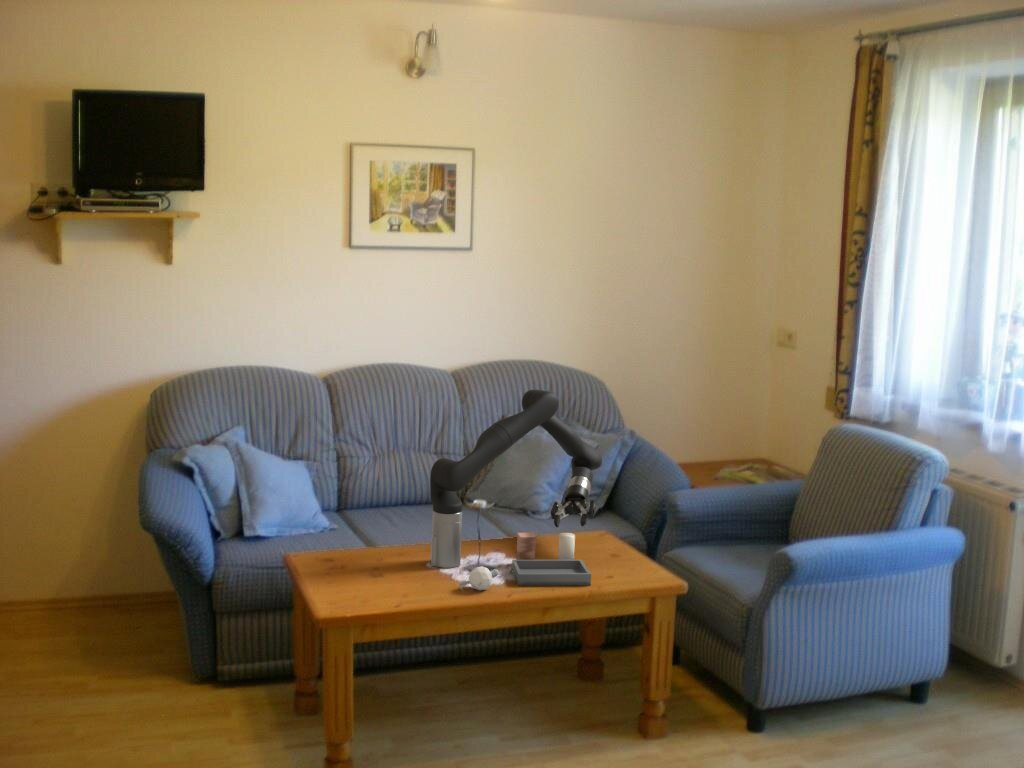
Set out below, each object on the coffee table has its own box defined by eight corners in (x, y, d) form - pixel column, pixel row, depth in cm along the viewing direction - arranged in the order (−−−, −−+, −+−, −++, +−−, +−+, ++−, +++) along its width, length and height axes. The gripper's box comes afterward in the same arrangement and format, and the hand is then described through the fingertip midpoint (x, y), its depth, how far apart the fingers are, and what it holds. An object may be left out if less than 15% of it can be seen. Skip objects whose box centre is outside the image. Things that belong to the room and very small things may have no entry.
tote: (518, 585, 328) (518, 574, 328) (511, 570, 342) (512, 559, 341) (590, 585, 331) (591, 574, 331) (581, 570, 345) (581, 559, 344)
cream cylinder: (559, 568, 346) (560, 537, 345) (556, 563, 351) (558, 532, 350) (574, 567, 347) (576, 537, 346) (571, 562, 352) (573, 532, 351)
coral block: (518, 568, 345) (519, 537, 343) (516, 563, 350) (517, 532, 348) (534, 568, 345) (535, 537, 344) (531, 563, 350) (533, 532, 349)
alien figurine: (467, 601, 319) (504, 586, 322) (459, 580, 317) (497, 564, 320) (460, 593, 326) (498, 578, 329) (453, 572, 324) (491, 556, 327)
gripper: (555, 484, 368) (545, 517, 355) (596, 482, 364) (588, 515, 351) (560, 501, 372) (550, 534, 359) (601, 500, 367) (592, 532, 355)
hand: (569, 524), depth 355 cm, fingers open, 8 cm apart
